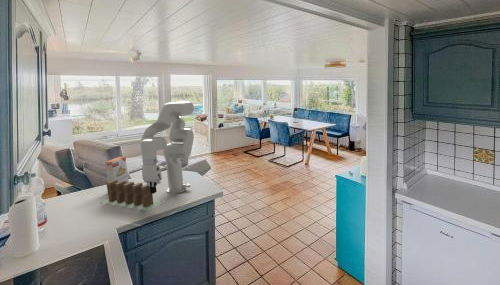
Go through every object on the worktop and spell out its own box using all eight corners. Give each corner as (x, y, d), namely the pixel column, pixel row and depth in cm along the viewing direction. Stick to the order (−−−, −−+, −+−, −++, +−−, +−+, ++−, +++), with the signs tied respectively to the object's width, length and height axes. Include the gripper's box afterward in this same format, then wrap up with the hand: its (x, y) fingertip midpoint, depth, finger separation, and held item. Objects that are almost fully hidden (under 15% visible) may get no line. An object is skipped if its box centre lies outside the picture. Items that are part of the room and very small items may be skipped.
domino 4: (144, 201, 166) (142, 182, 163) (137, 206, 160) (134, 186, 158) (141, 201, 167) (139, 182, 164) (134, 205, 161) (131, 185, 159)
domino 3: (136, 200, 168) (133, 181, 166) (128, 204, 163) (126, 185, 160) (133, 200, 169) (130, 181, 167) (125, 204, 164) (122, 184, 161)
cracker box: (116, 192, 185) (112, 162, 181) (108, 192, 186) (104, 161, 182) (129, 185, 198) (125, 156, 194) (122, 184, 200) (118, 156, 195)
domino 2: (128, 199, 171) (125, 180, 168) (120, 203, 165) (117, 184, 163) (125, 199, 171) (122, 180, 169) (117, 202, 166) (114, 183, 164)
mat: (163, 202, 164) (163, 202, 164) (149, 211, 153) (149, 210, 153) (115, 195, 179) (115, 195, 178) (99, 203, 168) (99, 202, 168)
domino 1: (120, 198, 173) (117, 179, 171) (112, 202, 168) (109, 183, 165) (117, 197, 174) (114, 179, 172) (109, 201, 168) (106, 182, 166)
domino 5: (153, 203, 163) (151, 183, 161) (146, 207, 158) (143, 187, 155) (150, 202, 164) (147, 183, 162) (142, 206, 159) (140, 187, 156)
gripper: (165, 160, 155) (168, 191, 158) (144, 159, 160) (147, 189, 164) (156, 164, 148) (160, 196, 151) (134, 162, 153) (138, 193, 157)
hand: (153, 192), depth 158 cm, fingers closed
